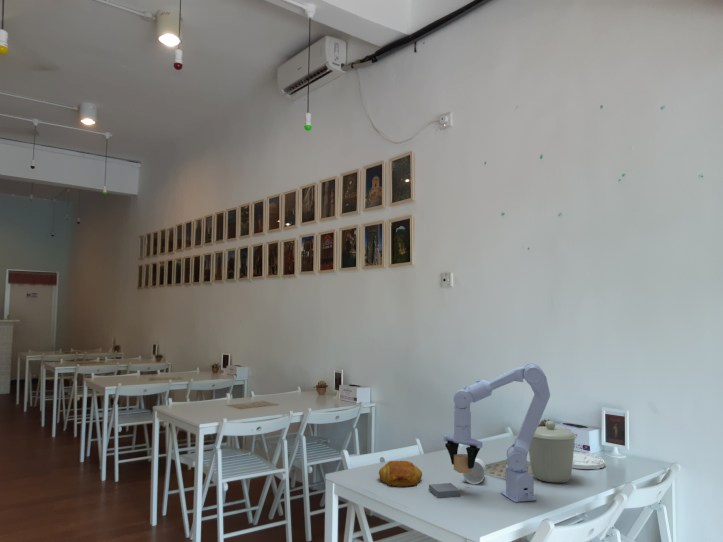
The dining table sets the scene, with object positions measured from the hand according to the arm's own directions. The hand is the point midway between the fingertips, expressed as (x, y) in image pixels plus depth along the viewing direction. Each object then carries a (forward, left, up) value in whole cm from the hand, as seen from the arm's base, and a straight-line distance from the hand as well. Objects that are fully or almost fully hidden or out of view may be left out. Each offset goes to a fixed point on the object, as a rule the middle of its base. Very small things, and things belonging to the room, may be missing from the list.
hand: (462, 466), depth 185 cm
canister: (+6, -39, -9) cm, 40 cm away
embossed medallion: (+23, -63, -9) cm, 68 cm away
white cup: (+15, -13, -5) cm, 21 cm away
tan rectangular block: (0, 0, -2) cm, 2 cm away
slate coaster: (-1, +7, -8) cm, 11 cm away
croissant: (+15, +17, -9) cm, 25 cm away
